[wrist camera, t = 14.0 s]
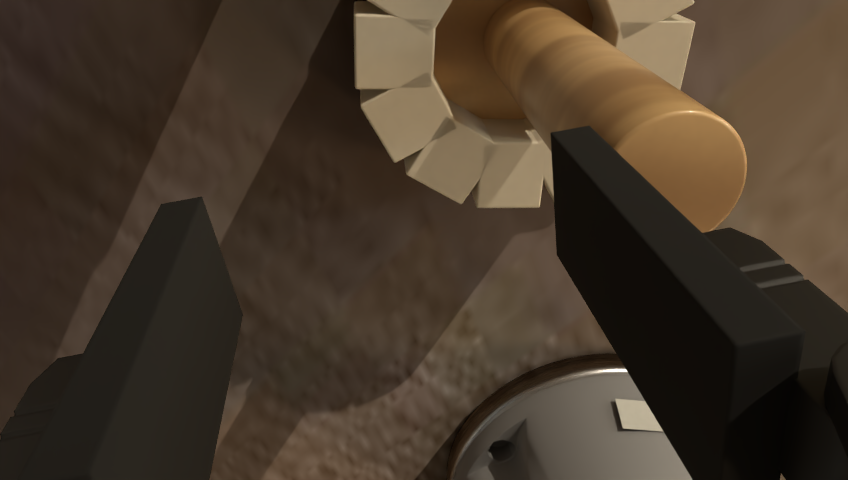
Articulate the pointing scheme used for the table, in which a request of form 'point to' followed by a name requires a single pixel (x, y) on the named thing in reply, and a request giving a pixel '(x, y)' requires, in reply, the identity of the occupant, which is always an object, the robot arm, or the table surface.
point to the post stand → (588, 97)
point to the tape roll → (465, 132)
